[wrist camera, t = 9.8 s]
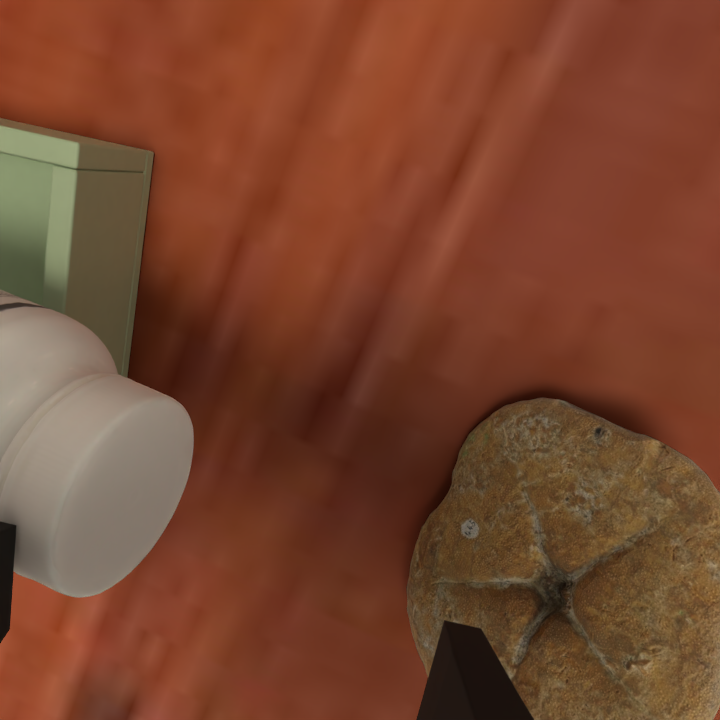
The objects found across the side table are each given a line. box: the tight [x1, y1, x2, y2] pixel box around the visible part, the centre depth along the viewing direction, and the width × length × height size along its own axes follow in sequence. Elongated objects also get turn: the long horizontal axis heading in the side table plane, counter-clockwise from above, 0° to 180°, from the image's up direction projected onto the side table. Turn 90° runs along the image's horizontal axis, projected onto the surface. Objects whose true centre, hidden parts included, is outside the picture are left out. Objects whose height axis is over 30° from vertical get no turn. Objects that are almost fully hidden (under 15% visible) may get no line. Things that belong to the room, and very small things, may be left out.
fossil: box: [406, 397, 720, 720], centre depth 19 cm, size 9×4×10 cm
